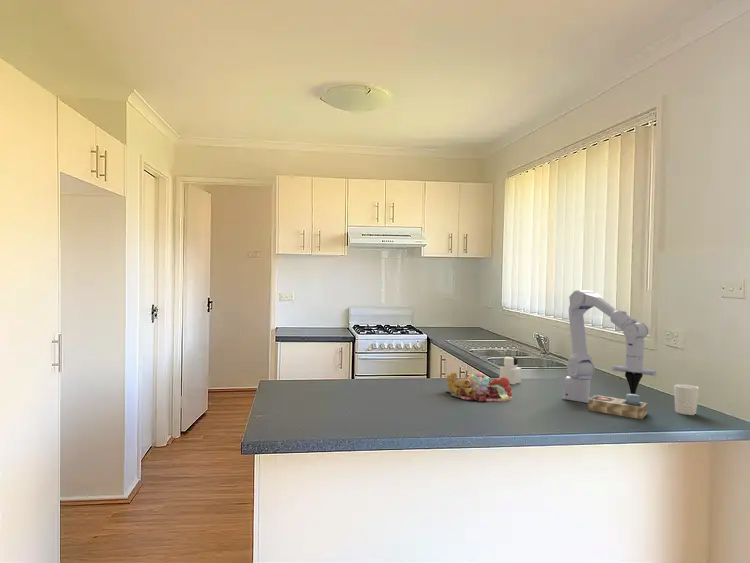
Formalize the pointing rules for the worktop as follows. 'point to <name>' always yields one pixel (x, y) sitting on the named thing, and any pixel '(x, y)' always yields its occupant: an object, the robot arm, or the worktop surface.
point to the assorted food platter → (479, 387)
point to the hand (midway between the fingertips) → (633, 393)
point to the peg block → (617, 407)
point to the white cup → (686, 399)
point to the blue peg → (632, 399)
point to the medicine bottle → (511, 370)
